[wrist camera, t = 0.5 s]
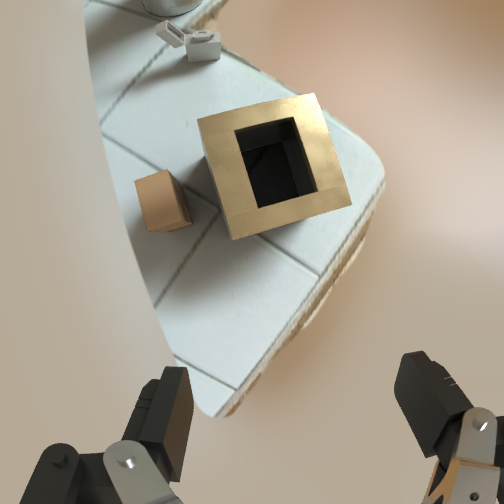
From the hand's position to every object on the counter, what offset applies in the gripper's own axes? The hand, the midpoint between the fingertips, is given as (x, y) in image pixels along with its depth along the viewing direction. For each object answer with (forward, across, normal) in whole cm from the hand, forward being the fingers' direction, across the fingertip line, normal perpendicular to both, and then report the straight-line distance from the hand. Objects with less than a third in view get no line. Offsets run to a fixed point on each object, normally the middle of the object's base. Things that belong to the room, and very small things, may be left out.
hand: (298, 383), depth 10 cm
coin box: (+28, +1, -5) cm, 28 cm away
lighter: (+31, +9, -22) cm, 39 cm away
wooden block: (+26, +10, -2) cm, 28 cm away
